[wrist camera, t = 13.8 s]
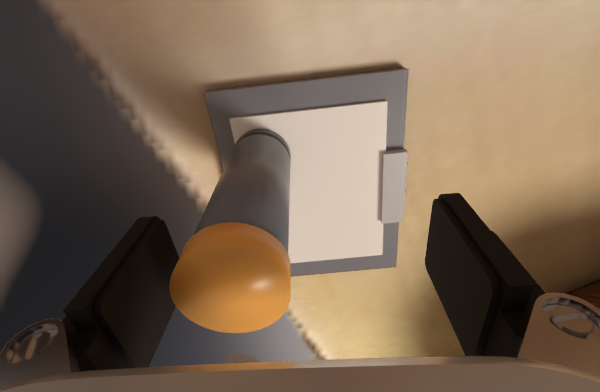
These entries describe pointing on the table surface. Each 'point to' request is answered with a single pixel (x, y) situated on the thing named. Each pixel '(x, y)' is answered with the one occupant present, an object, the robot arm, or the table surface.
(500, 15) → the table surface
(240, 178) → the orange topped gray cylinder
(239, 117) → the clipboard
